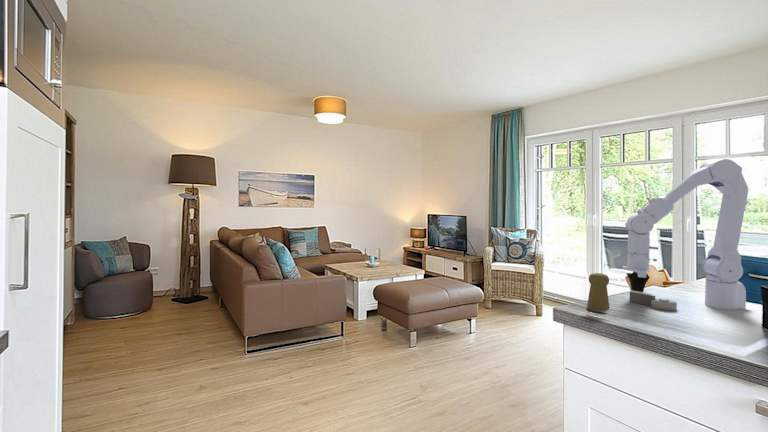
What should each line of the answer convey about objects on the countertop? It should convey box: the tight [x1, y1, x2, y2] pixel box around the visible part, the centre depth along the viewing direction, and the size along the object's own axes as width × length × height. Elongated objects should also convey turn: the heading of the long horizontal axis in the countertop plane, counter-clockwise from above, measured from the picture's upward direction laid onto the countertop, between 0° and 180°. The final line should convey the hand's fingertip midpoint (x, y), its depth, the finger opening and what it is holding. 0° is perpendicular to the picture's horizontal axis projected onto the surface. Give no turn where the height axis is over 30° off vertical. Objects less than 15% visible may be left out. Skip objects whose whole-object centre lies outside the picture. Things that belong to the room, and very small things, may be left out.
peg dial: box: [629, 289, 678, 312], centre depth 115 cm, size 12×6×3 cm, turn 30°
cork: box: [586, 272, 610, 315], centre depth 114 cm, size 6×6×11 cm
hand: (637, 296), depth 122 cm, fingers closed
